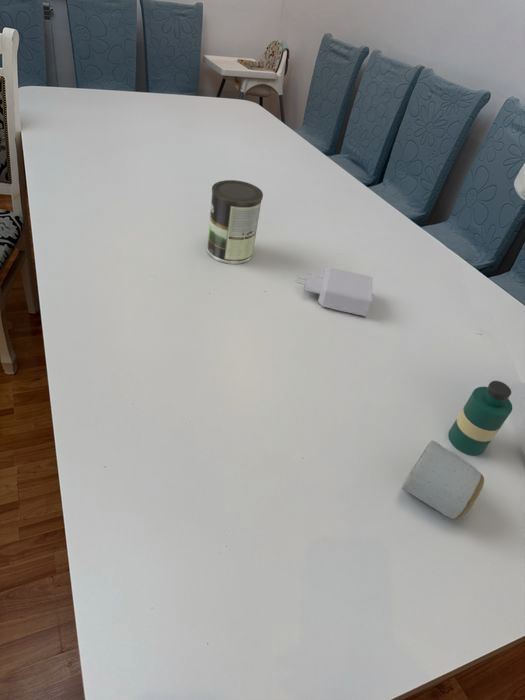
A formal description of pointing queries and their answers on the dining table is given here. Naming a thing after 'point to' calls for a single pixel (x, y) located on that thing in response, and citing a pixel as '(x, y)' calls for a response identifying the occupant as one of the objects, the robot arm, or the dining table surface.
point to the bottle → (481, 418)
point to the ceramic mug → (444, 481)
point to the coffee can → (233, 221)
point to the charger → (341, 290)
